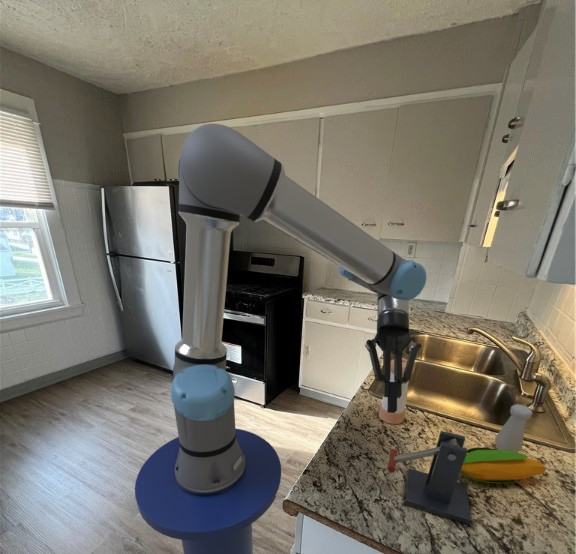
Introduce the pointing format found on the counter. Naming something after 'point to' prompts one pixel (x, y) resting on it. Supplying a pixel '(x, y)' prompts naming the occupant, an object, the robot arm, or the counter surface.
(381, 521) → the counter surface
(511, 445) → the salt shaker
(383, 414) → the pepper shaker
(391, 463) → the lever
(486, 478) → the corn
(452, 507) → the bracket
